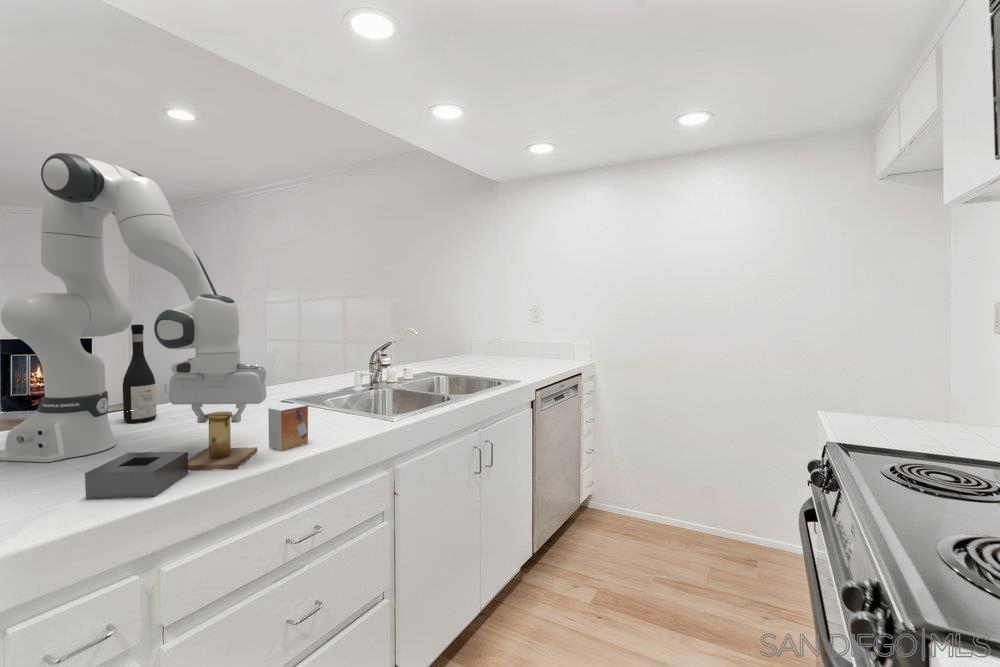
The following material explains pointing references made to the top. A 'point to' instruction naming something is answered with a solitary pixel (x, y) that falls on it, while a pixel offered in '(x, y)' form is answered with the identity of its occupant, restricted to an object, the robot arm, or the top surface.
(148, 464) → the block
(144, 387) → the wine bottle
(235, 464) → the board
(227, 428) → the gold cylinder
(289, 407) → the small box
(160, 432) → the top surface
